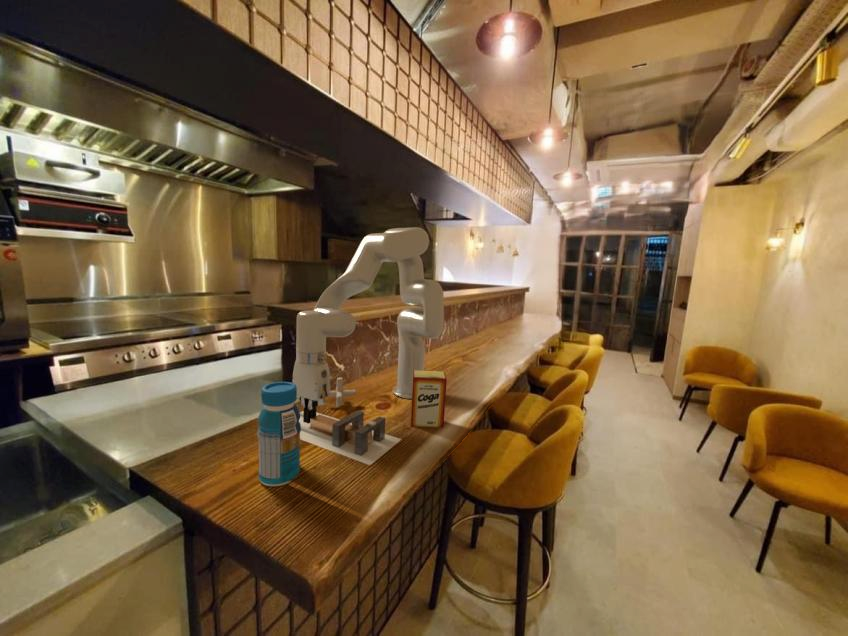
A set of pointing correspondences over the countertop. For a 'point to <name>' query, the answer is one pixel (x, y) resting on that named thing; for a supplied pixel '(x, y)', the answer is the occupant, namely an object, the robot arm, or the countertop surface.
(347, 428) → the bar
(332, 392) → the pipe connector
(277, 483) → the beverage bottle
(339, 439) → the rear collar
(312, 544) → the countertop surface
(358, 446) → the front collar
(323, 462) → the countertop surface
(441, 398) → the baking soda box
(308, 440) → the white rail board
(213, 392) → the countertop surface
